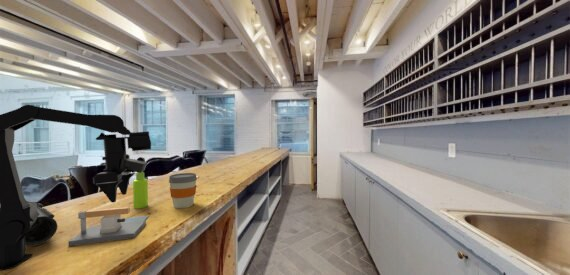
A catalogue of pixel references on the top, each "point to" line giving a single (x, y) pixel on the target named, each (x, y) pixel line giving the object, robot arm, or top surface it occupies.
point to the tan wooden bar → (103, 212)
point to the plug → (111, 223)
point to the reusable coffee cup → (183, 189)
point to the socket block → (95, 235)
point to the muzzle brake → (41, 227)
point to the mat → (136, 219)
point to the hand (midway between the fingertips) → (119, 198)
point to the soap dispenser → (140, 191)
